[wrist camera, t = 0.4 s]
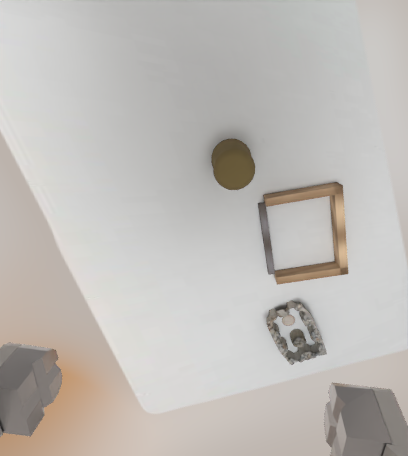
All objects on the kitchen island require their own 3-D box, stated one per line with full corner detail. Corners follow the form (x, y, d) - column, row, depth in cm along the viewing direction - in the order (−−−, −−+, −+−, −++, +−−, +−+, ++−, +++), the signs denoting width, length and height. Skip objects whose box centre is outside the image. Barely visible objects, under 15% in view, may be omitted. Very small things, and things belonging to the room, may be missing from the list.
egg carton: (261, 310, 60) (264, 323, 56) (302, 294, 59) (307, 307, 55) (283, 356, 63) (288, 372, 59) (323, 342, 62) (330, 357, 58)
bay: (257, 196, 53) (258, 199, 51) (337, 182, 52) (342, 185, 50) (268, 278, 58) (271, 285, 56) (342, 267, 57) (348, 273, 54)
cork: (249, 135, 51) (257, 142, 40) (253, 176, 52) (262, 192, 42) (208, 142, 51) (206, 150, 41) (214, 181, 53) (213, 199, 43)
